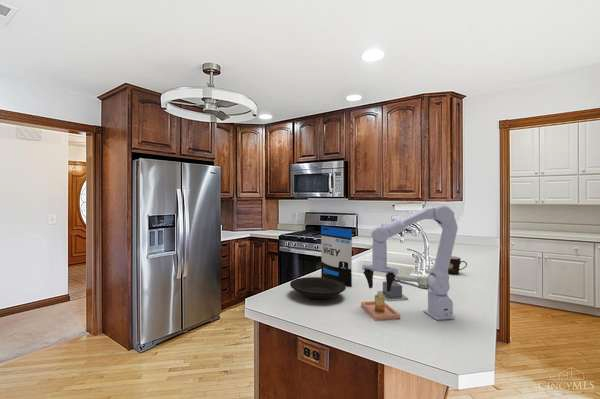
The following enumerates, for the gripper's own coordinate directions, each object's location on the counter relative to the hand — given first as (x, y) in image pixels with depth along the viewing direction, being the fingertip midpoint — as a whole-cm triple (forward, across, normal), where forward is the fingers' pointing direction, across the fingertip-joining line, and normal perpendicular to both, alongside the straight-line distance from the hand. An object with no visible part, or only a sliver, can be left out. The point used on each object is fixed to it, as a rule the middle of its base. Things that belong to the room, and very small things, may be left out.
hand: (379, 289), depth 127 cm
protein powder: (+10, +37, -28) cm, 47 cm away
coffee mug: (+10, -13, -84) cm, 86 cm away
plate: (+10, +32, -2) cm, 33 cm away
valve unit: (+9, +3, -23) cm, 25 cm away
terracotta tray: (+9, 0, 0) cm, 9 cm away
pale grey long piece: (+10, +4, -48) cm, 49 cm away
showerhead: (+10, -7, -61) cm, 62 cm away
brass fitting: (+9, 0, 0) cm, 9 cm away
